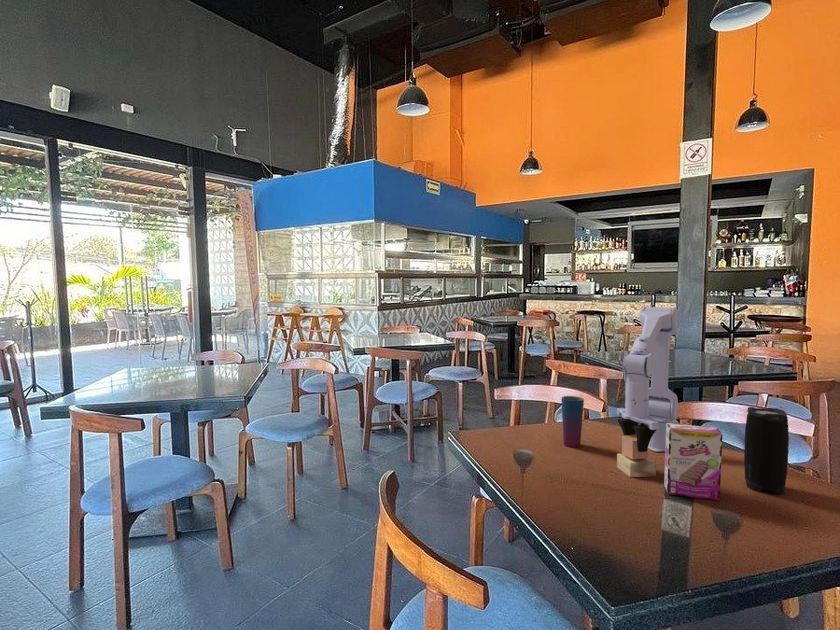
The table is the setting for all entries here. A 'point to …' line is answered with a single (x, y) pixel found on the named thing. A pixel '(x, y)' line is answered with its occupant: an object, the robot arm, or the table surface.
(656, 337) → the robot arm
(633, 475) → the oak block
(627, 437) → the terracotta cube
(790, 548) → the table surface
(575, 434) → the cup
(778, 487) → the portable speaker
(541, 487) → the table surface
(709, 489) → the candy bar box
